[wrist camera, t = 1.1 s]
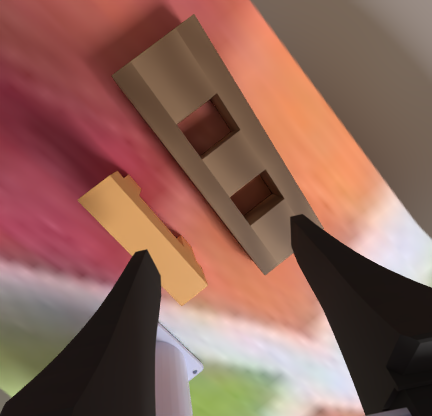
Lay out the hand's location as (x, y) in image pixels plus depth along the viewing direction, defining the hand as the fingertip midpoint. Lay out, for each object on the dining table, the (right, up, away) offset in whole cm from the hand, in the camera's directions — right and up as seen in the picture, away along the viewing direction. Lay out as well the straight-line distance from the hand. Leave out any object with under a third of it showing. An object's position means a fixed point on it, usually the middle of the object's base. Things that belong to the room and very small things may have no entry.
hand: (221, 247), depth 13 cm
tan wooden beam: (-6, +1, +10) cm, 11 cm away
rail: (+1, +6, +10) cm, 12 cm away
